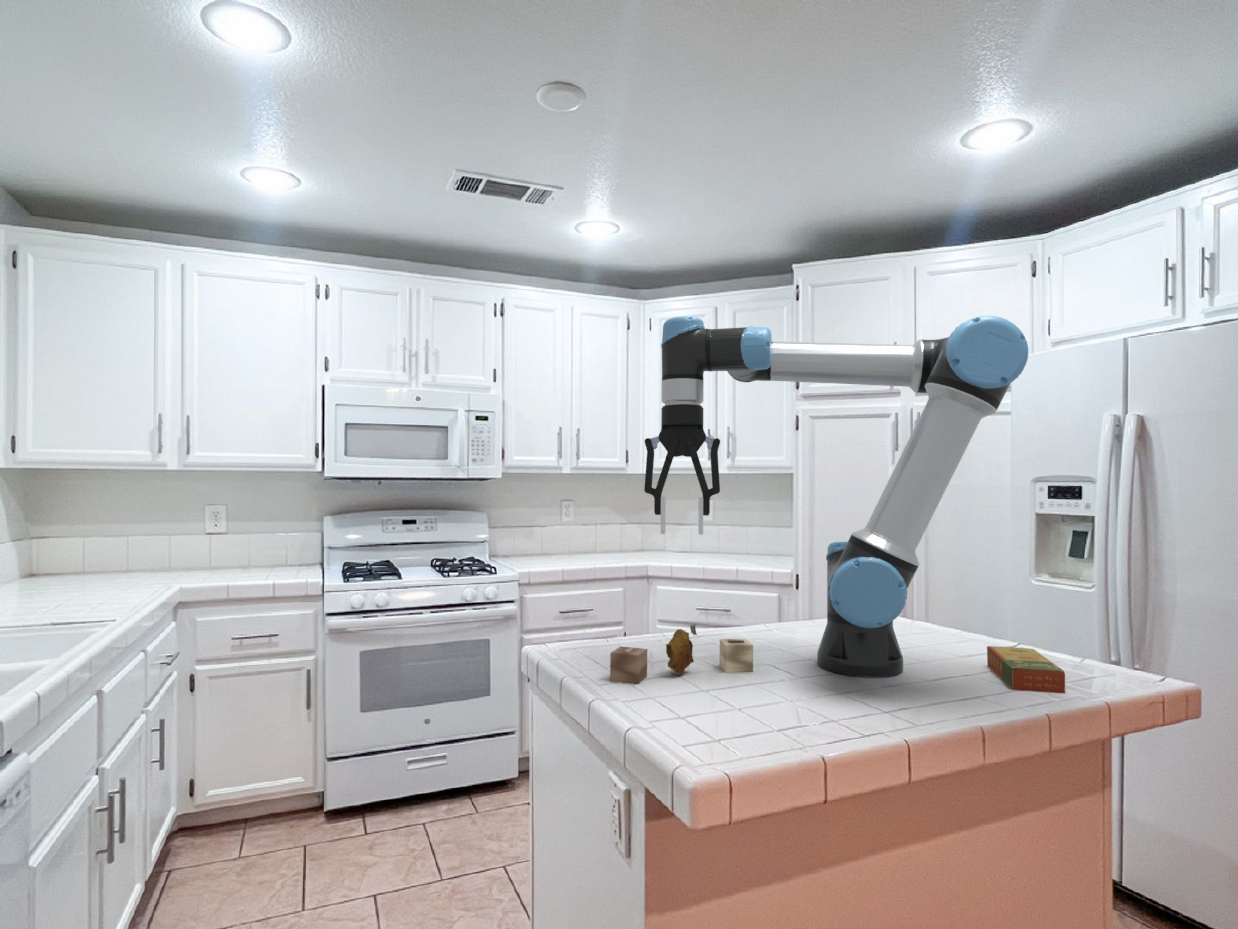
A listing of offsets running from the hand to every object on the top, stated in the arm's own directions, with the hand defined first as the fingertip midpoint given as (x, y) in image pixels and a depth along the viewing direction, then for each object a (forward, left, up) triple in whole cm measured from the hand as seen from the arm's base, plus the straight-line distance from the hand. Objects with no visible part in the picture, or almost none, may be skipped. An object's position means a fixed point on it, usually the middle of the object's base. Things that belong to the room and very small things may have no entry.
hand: (681, 533), depth 131 cm
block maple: (-10, -4, -25) cm, 27 cm away
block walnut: (+9, +5, -25) cm, 27 cm away
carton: (-60, -3, -26) cm, 65 cm away
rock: (0, 0, -25) cm, 25 cm away
